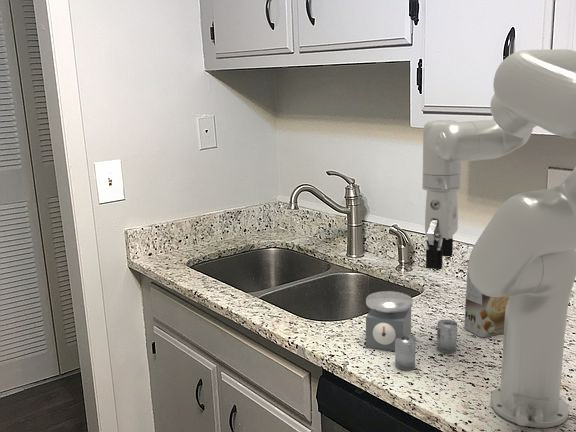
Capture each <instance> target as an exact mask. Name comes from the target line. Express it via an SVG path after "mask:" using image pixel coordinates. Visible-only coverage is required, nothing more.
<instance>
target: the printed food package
mask: <svg viewBox="0 0 576 432" xmlns="http://www.w3.org/2000/svg"><path fill="white" fill-rule="evenodd" d="M468 263H469V260H468V261H467V264H468ZM466 269H467V273H466V275H467V276H466V289H465V304H464V305H465V307H464V309H465V310H464V323H463V327H464V329H466V330H467V331H469V332H471V333H472V334H474V335H475V336H477V337H479V338H481V339H482V338H487V337H492V336H497V335H501V334H503V335H504V321H505V311H506V306H507V303H508V300H509V298H510V296H507V297H489V296H486V295H484V294H482V293H480V292H479V291H478V290H477V289H476V288H475V287H474V286H473V284H472V282H471V280H470V277H469V272H468V268H466Z"/></svg>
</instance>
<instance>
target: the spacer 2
mask: <svg viewBox="0 0 576 432" xmlns="http://www.w3.org/2000/svg"><path fill="white" fill-rule="evenodd" d="M436 330H437V331H436V351H437V352H439V353H440V354H444V355H445V354H446V355H452V354H455V353H456V352H457V342H458V341H457V339H458V323H457V321H455V320H451V319H440V320H438V321H437V326H436Z"/></svg>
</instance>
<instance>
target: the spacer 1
mask: <svg viewBox="0 0 576 432" xmlns="http://www.w3.org/2000/svg"><path fill="white" fill-rule="evenodd" d="M416 340H417V339H416V337H415V336H413V335H411V334H410V335H406V334H403V335H398V336H396V337H395V351H394V367H395V369H397V370H399V371H401V372H402V371H403V372H411V371H413V370H415V369H416V351H417V350H416V346H417V345H416V344H417V343H416Z"/></svg>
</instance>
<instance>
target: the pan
mask: <svg viewBox="0 0 576 432" xmlns="http://www.w3.org/2000/svg"><path fill="white" fill-rule="evenodd" d="M413 302H414V301H413V298H412V297H411V296H410V295H408V294H407V293H403V292H400V291H393V290H388V291H385V290H384V291H376V292H373V293H370V294H368V295H367V296H366V298H365V304H366V306H367V307H368V308H369V309H370V310H371V309H373V310H376V311H380V312H387V313H396V312H403V311H406V310H409V309H410V308H411V309H412V307H413V305H414V303H413Z"/></svg>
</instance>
